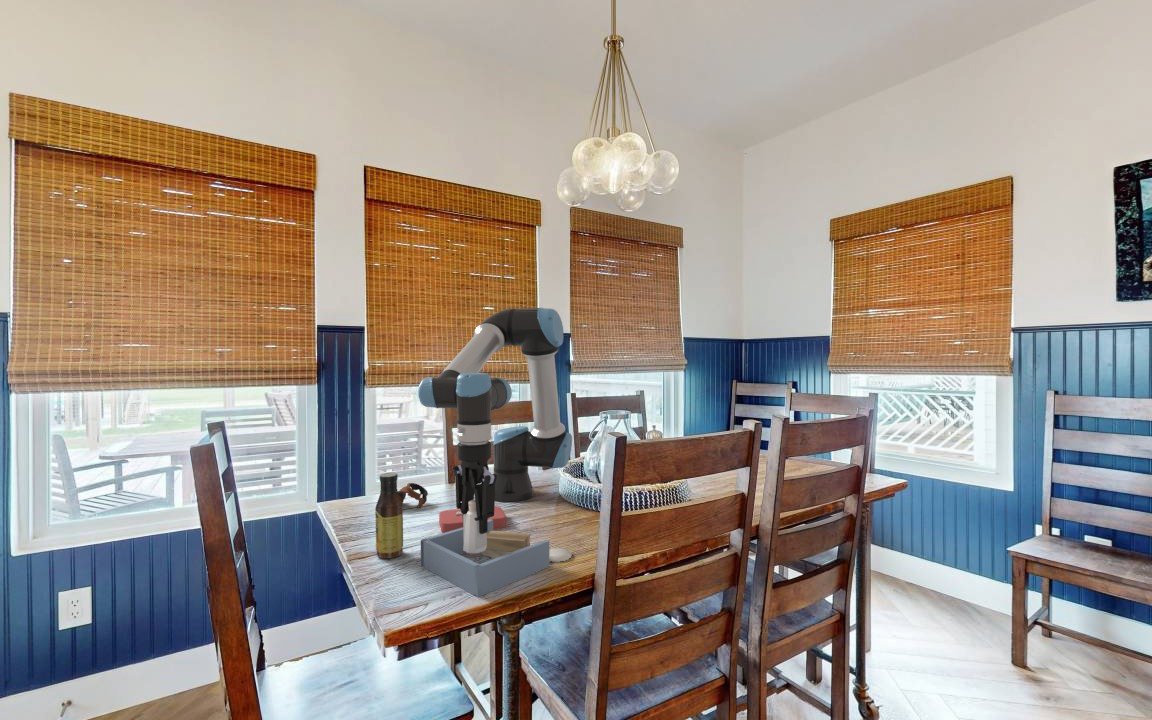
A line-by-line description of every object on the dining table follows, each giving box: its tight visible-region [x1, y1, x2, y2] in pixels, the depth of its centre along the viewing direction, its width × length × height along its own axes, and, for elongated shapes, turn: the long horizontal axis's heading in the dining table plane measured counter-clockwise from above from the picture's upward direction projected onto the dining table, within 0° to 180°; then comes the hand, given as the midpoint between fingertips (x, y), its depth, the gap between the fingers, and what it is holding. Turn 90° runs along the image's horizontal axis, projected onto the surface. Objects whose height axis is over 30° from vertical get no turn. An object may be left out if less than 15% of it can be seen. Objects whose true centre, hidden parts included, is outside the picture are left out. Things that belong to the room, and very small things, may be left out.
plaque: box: [438, 505, 507, 534], centre depth 146 cm, size 18×4×15 cm
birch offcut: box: [480, 550, 511, 559], centre depth 124 cm, size 5×13×3 cm, turn 55°
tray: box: [420, 519, 550, 598], centre depth 119 cm, size 20×22×6 cm
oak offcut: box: [486, 530, 531, 552], centre depth 124 cm, size 5×10×3 cm, turn 78°
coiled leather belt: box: [397, 482, 429, 509], centre depth 163 cm, size 12×10×8 cm
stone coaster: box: [549, 547, 573, 563], centre depth 125 cm, size 7×7×1 cm
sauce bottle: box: [374, 471, 404, 559], centre depth 125 cm, size 7×6×20 cm
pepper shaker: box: [463, 499, 487, 554], centre depth 117 cm, size 5×5×11 cm
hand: (475, 543), depth 117 cm, fingers closed on pepper shaker, 4 cm apart
